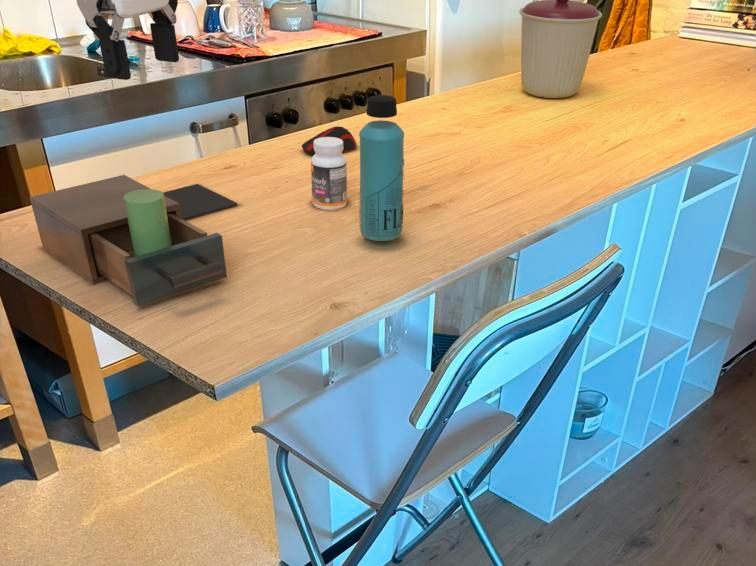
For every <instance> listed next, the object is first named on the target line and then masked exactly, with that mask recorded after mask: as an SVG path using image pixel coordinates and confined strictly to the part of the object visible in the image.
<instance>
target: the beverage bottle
mask: <svg viewBox="0 0 756 566" xmlns="http://www.w3.org/2000/svg"><path fill="white" fill-rule="evenodd" d="M366 103H367V105H366V115H367V116H368V117H371V118H375V119H388V118H393V117H396V116H398V109H397V99H396V97H394V96H392V95H387V94H375V95H371V96H369V97H368V98H367V101H366ZM358 136H359V172H360V173H359V183H358V184H359V192H358V194H359V197H358V200H359V211H358V215H359V220H358V221H359V222H358V223H359V230H360V233H361V236H362V237H363V238H365V239H367V240H371V241H376V242H388V241H393V240H396V239H398V238H399V237H401V236H402V235H401V234H402V232H403V228H404V200H403V197H404V194H405V193H404V177H405V174H404V166H405V156H406V155H404V153H405V151H404V142H405V141H404V138H405V132H404V130H403V129H402V128H401V127H400V125H398V124H397V123H396V122H394V121H390V120H372V121H369V122H367V123H366V124H365V125H364V126H363V127H362V128H361V129H360V131H359V133H358Z"/></svg>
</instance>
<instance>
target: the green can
mask: <svg viewBox="0 0 756 566" xmlns="http://www.w3.org/2000/svg"><path fill="white" fill-rule="evenodd" d="M124 203H125V208H126V213H127V219H128V224H129V229H130V234H131V239H132V244H133V250H134V255H135V257H136V256H140V255H143V254H147V253H150V252H153V251H157V250H160V249H163V248H167V247H170V246H172V243H171V236H170V230H169V224H168V218H167V211H166V205H165V199H164V194H163V191H161V190H157V189H153V188H150V189H141V190H135V191H131V192H129V193H127V194H125V195H124Z"/></svg>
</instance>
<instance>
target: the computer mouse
mask: <svg viewBox="0 0 756 566" xmlns="http://www.w3.org/2000/svg"><path fill="white" fill-rule="evenodd" d="M321 137H335V138H339V139H341V140H342V141H343V148H344V149H343V151H342V154H347V153H351V152H354V151H356V150H357V141H356V140H355V138H354V136H353V134H352V133H351V132H350V131H349V129H347V128H345V127H343V126H333V127H330V128H328V129H325V130H324V131H322V132H320V133H318V134H316V135H315V136H313V137H311V138H309V139H308V140H306V141H305V142H304V143H303V144H301V146H300V147H301V148H302V150H303V151H304V153H306V154H307V155H309V156H311V157H313V156H314V155H315V151H314V146H313V143H314V140H315V139H317V138H321Z"/></svg>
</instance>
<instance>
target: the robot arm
mask: <svg viewBox="0 0 756 566" xmlns="http://www.w3.org/2000/svg"><path fill="white" fill-rule="evenodd" d="M76 5H77V7H78V9H79V11H80V12H81V15H82V16H83V18H84V21H85V24H86V26H87V27H88V29H89V30H90V31H92V35H93V37H94V39H95V40H98V44H99V47H100V53H101V59H102V64H103V68H104V72H105V76H106V77H107V78H108V79H116V80H124V81H127V80H130V79H131V78H132V73H131V69H130V63H129V56H128V52H127V46H126V45H127V44H126V42H125V40H124V39H121V35H122V31H123V27H124V23H125V19H131V18H136V17H140V16H143V15H146V14H148V16H149V17H150V18H151V20H152V21H153V22H151V23H149V28H150V34H151V40H152V46H153V52H154V58H155V60H156V61H159V62H168V63H178V62H179V61H180V55H179V49H178V42H177V40H178V39H177V35H176V29H175V28H176V26H175V25H176V24H177V19H178V18H177V14H176V12H177V9H178V5H179V1H178V0H76ZM109 20H111V24H109V22H108V21H109Z"/></svg>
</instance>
